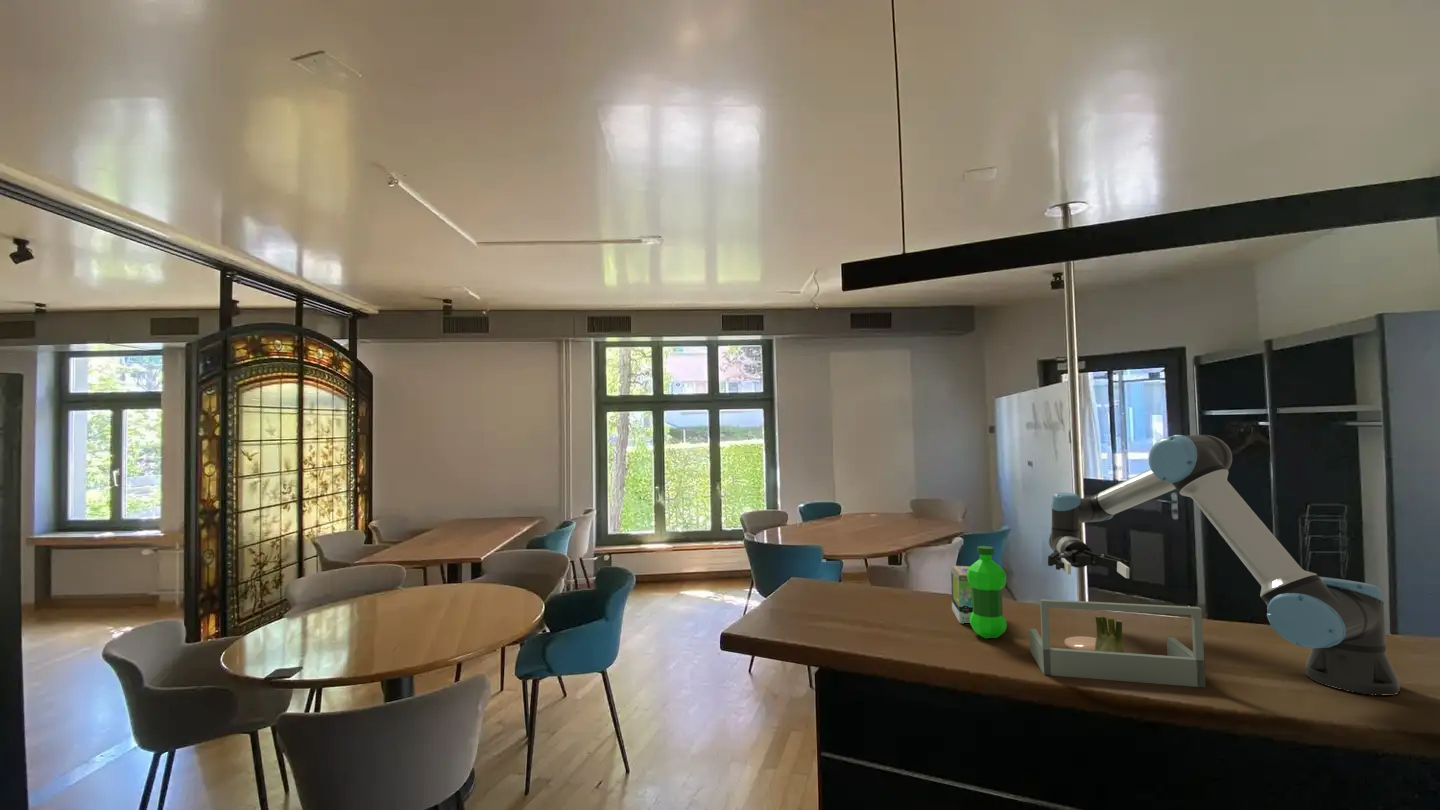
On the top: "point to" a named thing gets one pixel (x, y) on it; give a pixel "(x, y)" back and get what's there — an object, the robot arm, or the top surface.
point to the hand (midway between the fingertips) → (1098, 571)
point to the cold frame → (1122, 666)
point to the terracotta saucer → (1081, 643)
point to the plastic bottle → (987, 595)
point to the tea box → (961, 594)
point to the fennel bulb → (1109, 635)
